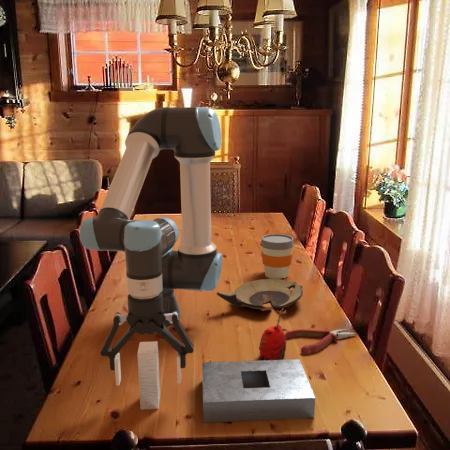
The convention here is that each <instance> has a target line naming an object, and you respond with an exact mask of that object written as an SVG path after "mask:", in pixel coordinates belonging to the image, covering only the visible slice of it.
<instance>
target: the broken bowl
mask: <svg viewBox="0 0 450 450" xmlns="http://www.w3.org/2000/svg"><path fill="white" fill-rule="evenodd" d="M303 288H304V287H303V285H299V284H298V282H294V281H290V280H287V279H286V280H285V279H271V278H263V279H262V278H261V279H256V280H251V281H249V282H245V283H244V284H241V285H240V286H238V287H237V288H236V289H235V290H230V291H229V292H220V291H218V292H216V295H217V296H218V297H219V298H220V299H223V300H225V301H226V302H227V303H229V304H231V305H232V306H234V307H236V308H241V307H247V308H250V309H253V310H254V309H255V310H261V311H262V310H263V311H265V310H268V311H269V310H273V308H274V309H283V308H287V307H289V306H291V305H294V304H295V303H297V302H298V301H299V300H300V299H301V298H302V297H303V294H304V290H303ZM268 303H271V306H264V304H268Z"/></svg>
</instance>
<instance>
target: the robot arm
mask: <svg viewBox="0 0 450 450" xmlns="http://www.w3.org/2000/svg"><path fill="white" fill-rule="evenodd" d="M217 114H218V113H216V111H215V110H214V109H213V108H210V107H199V106H191V107H190V106H189V107H187V106H186V107H168V106H167V107H157V108H155V109H152V110H150V111H148V112H147V113H145V114H144V115H143V116H142V117H140V118H139V119H138V120H137V121H136V122H135V124H134V125H132V127H131V129H130V130H129V131H128V133H127V136H126V137H125V140H124V141H125V142H124V143H125V150H124V152H123V155H122V157H121V159H120V162H119V165H118V167H117V169H116V171H115V174H114V176H113V178H112V181H111V183H110V185H109V188H108V190H107V192H106V194H105V197H104V199H103V201H102V204H101V207H100V209H99V211H98V214H97V215H96V217H95V216H94V217H93V216H92V217H86V218H85V219H84V220H82V222H81V225H80V226H79V227H80V228H79V234H78V235H79V241H80V243H81V245H82V247H84V248H85V249H87V250H92V251H94V250H95V251H99V252H103V251H107V252H124V255H125V258H124V259H125V270H126V273H125V275H126V292H127V294H128V295H127V310H128V313H127V314H122V313H121V312H118V311H117V312H115V315H114V317H113V323H112V326H111V329H110V331H109V333H108V336H107V337H106V340H105V342H104V344H103V346H102V347H101V351H100V352H99V353H100V356H102V357H108V360H109V369H110V371H114V374H115V377H114V378H115V386H120V384H121V380H122V371H121V369H122V368H121V355H120V351H121V350H122V349H123V348H124V346H126V344H127V343H128V342H129V340H130V339H132V338H133V337H134V336H135V334H138V335H140V336H142V335H154V334H157V335H158V336H160V337H162V338H163V340H164V341H165V342H166V343H168V345H169V346H171V348H172V349H174V351H176V376H177V378H176V380H177V384H182V369H185V368H186V365H187V362H186V361H187V357H186V356H187V355H188V354H192V353H193V352H194V343H193V342H192V340H191V337H190V336H189V335H188V333H187V332H186V330H185V328H184V326H183V325H182V323H181V320H180V318H181V308H180V305H179V302H178V300H177V297H176V295H175V290H182V291H183V290H184V291H185V290H186V291H197V292H198V291H199V292H212V291H214V290H216V288H217V287H218V284H219V282H220V279H221V273H222V267H223V260H224V259H223V254H222V253H220V252H217V245H216V244H215V243H214V242H213V241H212V213H211V212H212V206H211V204H212V203H211V202H212V201H211V197H212V196H211V194H212V193H211V161H212V160H214V158H215V157H216V152H217V151H219V150H220V149H221V146H222V129H221V123H220V120H219V117H218V115H217ZM162 150H173V153H174V158H175V159H176V160H177V161H178V163H179V171H180V176H179V178H180V201H181V202H180V203H181V204H180V205H181V206H180V207H181V234H182V242H181V243H180V244H179V245H178V246H177V250H174V248H173V247H175V244H176V243H177V241H178V239H179V236H180V229H179V227H178V225H177V224H176V222H175V221H174V220H172V218H171V219H170V218H169V217H166V216H164V217H163V216H162V217H157V218H155V219H153V220H150V219H148V220H146V219H143V220H142V219H131V216H132V215H133V211H134V209H135V206H136V204H137V202H138V198H139V196H140V193H141V190H142V188H143V185H144V182H145V179H146V177H147V174H148V172H149V170H150V167H151V164H152V161H153V159H155V158H156V157H158V156H159V154H160V151H162ZM124 322H127V325H129V327H128V328H127V330H126V331H125V333H124V334H123V335H122V336H121V337H120V338H119V339H118V340H117V342H116V343H115V345H113V347H110V346H111V345H112V343H113V340H114V338H115V336H116V335H117V332H118V330H119V327H120V326H122V325H123V324H124ZM171 325H173V326H172V327H173V328H174V330H175V332H176V334H177V335H178V337H179V339H180V340H181V341H180V340H179V339H178V338H177V337H175V335H174V334H173V333H172V332H171V331H170V330H169V329H168V328H167V327H168V326H171Z"/></svg>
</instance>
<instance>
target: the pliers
mask: <svg viewBox="0 0 450 450" xmlns="http://www.w3.org/2000/svg"><path fill="white" fill-rule="evenodd" d="M324 329H325V330H319V329H304V328H300V329H294V330H289V331H287V332H285V338H286V340H287V339H292V338H298V337H299V338H300V337H305V338H306V337H309V338H320V337H321V338H322V339H320V340H319V341H317V342H315V343H313V344H307V345H303V346H302V347H301V348H300V353H301V354H302V355H310V354H315V353H318V352H321V350H323V349H325V348H326V347H328V346H329V345H330V344H331V343H338V340H342V339H345V338H349V337H354V336H357V335H358V333H356V332H350V331H352V328H345V329H335V330H332V331H331V330H329V329H328V328H324Z"/></svg>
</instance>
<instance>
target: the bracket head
mask: <svg viewBox="0 0 450 450" xmlns="http://www.w3.org/2000/svg"><path fill="white" fill-rule="evenodd" d="M201 369H202V371H201V373H202V374H201V375H202V376H201V377H202V378H201V379H202V410H203V411H202V414H203V419H202V420H203V424H204V423H222V422H223V423H225V422H226V423H227V422H249V421H250V422H251V421H252V422H253V421H272V420H273V421H275V420H277V421H278V420H297V419H298V420H299V419H315V411H316V410H315V409H316V396H315V393H314V392H313V388H312V387H311V384H310V381H309V379H308V377H307V374H306V371H305V369H304V366H303V364H302V362H301V359H300V358H299V359H283V360H265V359H264V360H243V361H241V360H240V361H239V360H238V361H217V362H216V361H215V362H214V361H212V362H211V361H210V362H201Z"/></svg>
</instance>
